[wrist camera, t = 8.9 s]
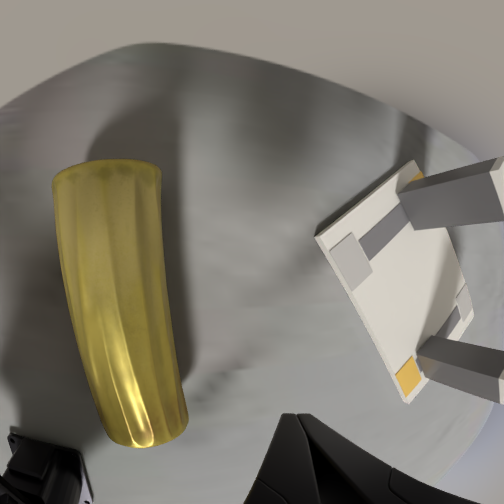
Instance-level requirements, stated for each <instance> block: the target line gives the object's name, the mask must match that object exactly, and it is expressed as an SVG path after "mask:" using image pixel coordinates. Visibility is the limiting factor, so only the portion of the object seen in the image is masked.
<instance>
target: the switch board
mask: <svg viewBox="0 0 504 504" xmlns="http://www.w3.org/2000/svg"><path fill="white" fill-rule="evenodd" d="M421 178H424V176H423V174H422V172H421V171H420V170H419V168H418V166H417V164H416V162H415V160H411V161H409V162H407V163H406V164H405V165H404V166H402V167H401V168H400V169H399V170H398V171H396V172H395V173H394V174H393V175H391V176H390V177H389V178H388V179H387V180H385V181H384V182H383V183H382V184H380V185H379V186H378V187H377V188H375V189H374V190H373V191H372V192H371V193H369V194H368V195H367V196H366V197H364V198H363V199H362V200H361V201H359V202H358V203H357V204H356V205H354V206H353V207H352V208H351V209H349V210H348V211H347V212H346V213H344V214H343V215H342V216H340V217H339V218H338V219H337V220H335V221H334V222H333V223H332V224H330V225H329V226H328V227H327V228H325V229H324V230H323V231H321V232H320V233H319V234H318V235H316V236H315V237H314V238H315V240H316V241H317V243H318V245H319V246H320V248H321V250H322V251H323V253H324V255H325V256H326V258H327V260H328V261H329V263H330V265H331V266H332V268H333V270H334V272H335V273H336V275H337V277H338V279H339V280H340V282H341V284H342V285H343V287H344V289H345V291H346V293H347V294H348V296H349V298H350V300H351V301H352V303H353V305H354V307H355V309H356V310H357V312H358V314H359V316H360V318H361V320H362V321H363V323H364V325H365V327H366V329H367V331H368V333H369V334H370V336H371V338H372V340H373V342H374V344H375V346H376V348H377V350H378V352H379V354H380V355H381V357H382V359H383V361H384V363H385V365H386V367H387V369H388V371H389V373H390V375H391V377H392V379H393V381H394V383H395V385H396V387H397V389H398V392H399V394H400V396H401V398H402V400H403V402H405V403H407V404H409V403H410V402H411V401H412V400H413V399H414V397H415V396H416V395H417V394H418V393H419V392H420V390H421V389H422V388H423V387H424V386H425V384H426V383H427V382H428V381H429V379H428V378H426V377H425V376H424V373H423V370H422V368H421V365H420V363H419V360H418V358H417V355H416V354H417V352H418V351H419V350H420V349H421V347H422V346H423V345H424V344H425V342H426V341H427V340H428V339H429V337H430V336H431V335H433V336H437V337H442V338H446V339H450V340H455V341H458V340H459V338H460V337H461V335H462V334H463V332H464V331H465V329H466V328H467V326H468V325H469V323H470V321H471V320H472V318H473V317H474V313H473V309H472V308H473V306H472V302H471V299H470V295H469V291H468V288H467V285H466V283H465V281H464V277H463V274H462V271H461V268H460V265H459V262H458V259H457V256H456V253H455V251H454V248H453V245H452V242H451V240H450V237H449V234H448V232H447V229H446V227H443V228H434V229H425V230H416V231H414V229H413V226H412V224H411V222H410V220H409V218H408V216H407V214H406V212H405V210H404V208H403V206H402V204H401V202H400V200H399V198H398V196H397V194H398V193H399V192H400V191H401V190H402V189H403V188H405V187H406V186H407V185H408V184H409V183H410V182H411V181H414V180H418V179H421Z"/></svg>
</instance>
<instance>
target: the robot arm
mask: <svg viewBox="0 0 504 504" xmlns="http://www.w3.org/2000/svg"><path fill="white" fill-rule="evenodd" d="M7 438H8V442H9V445H10V448H11V451H12V454H13V456H12V457H11V459H10V461H9V462H8V464H7V469H6V471H5V473H4V474H3V476H1V475H0V504H93V498H92V495H91V492H90V488H89V485H88V481H87V478H86V474H85V470H84V466H83V462H82V458H81V454H80V453H79V452H78V451H77V450H75V449H71V448H66V447H61V446H57V445H52V444H48V443H44V442H40V441H36V440H33V439H29V438H26V437H22V436H19V435H16V434H13V433H10V434H9V435H8V437H7ZM13 439H14V440H15V441H14V440H13ZM72 454H74V455H75V456H73V455H72ZM243 504H480V503H477V502H474V501H470V500H467V499H464V498H461V497H458V496H456V495H453V494H450V493H447V492H444V491H442V490H439V489H437V488H434V487H432V486H429V485H427V484H425V483H422V482H420V481H418V480H416V479H414V478H412V477H410V476H408V475H406V474H404V473H403V472H401V471H399V470H397V469H396V468H392V467H391V466H390V465H388V464H386V463H384V462H383V461H381V460H379V459H378V458H376V457H375V456H373V455H371V454H370V453H368V452H366V451H365V450H363V449H362V448H360V447H359V446H357V445H355V444H354V443H352V442H351V441H349V440H348V439H346V438H345V437H343V436H342V435H340V434H339V433H337V432H336V431H334V430H333V429H331V428H330V427H328V426H327V425H325V424H324V423H323V422H321V421H320V420H318V419H317V418H315V417H314V416H313V415H311V414H297V415H296V414H292V413H283V414H282V415H281V417H280V420H279V423H278V425H277V428H276V431H275V433H274V436H273V438H272V441H271V443H270V446H269V448H268V451H267V453H266V456H265V458H264V461H263V463H262V465H261V468H260V470H259V472H258V475H257V477H256V480H255V481H254V483H253V486H252V488H251V490H250V492H249V494H248V496H247V498H246V500H245V501H244V503H243Z"/></svg>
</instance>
